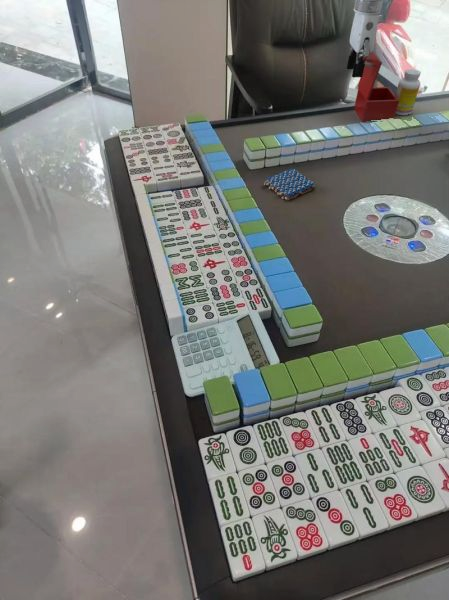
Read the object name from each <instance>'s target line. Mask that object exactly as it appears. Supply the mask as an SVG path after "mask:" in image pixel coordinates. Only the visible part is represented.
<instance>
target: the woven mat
mask: <svg viewBox="0 0 449 600" xmlns="http://www.w3.org/2000/svg"><path fill="white" fill-rule="evenodd" d="M316 185H317V184H316V183H315V182H314V181H313V180H310V178H309V177H308V178H307V177H306V176H305V175H303V174H302V173H300V172H299V171H298V170H296V169H294V168H288V169H286V170H283V171H281V172H279V173H277V174H276V173H275V174H274V175H270V176H269V177H265V179H264V183H263V186H268V190H273V191H274V192H275V193H276V194H277V195H278V196H281V199H282V200H285V201H290V200H292V199H295V198H296V197H298V196H299V195H300V196H301V195H304V194H306V193H308V192H311V191H312V190H314V189H316Z"/></svg>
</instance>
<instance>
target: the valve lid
mask: <svg viewBox="0 0 449 600" xmlns="http://www.w3.org/2000/svg"><path fill="white" fill-rule="evenodd" d="M360 56H361V55H360ZM360 56H359V58H360ZM382 64H383V62H382V61H381V59H380V58H379V56H378V55H377V54H376V53H375V51H374V50H373V51H372V53H369V56H368V58H367V59H366V63H365V67H364V71H363V76H362V77H359V80H358V83H357V89H358V88H359V89H360V91H361V93H362V94H363V96H364V97H365V99H366V100H369V97H370V94H371V92H372V89H373V88H374V87H375V83H376V81H377V78H378V75H379V72H380V70H381V67H382Z"/></svg>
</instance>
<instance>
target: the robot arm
mask: <svg viewBox="0 0 449 600" xmlns="http://www.w3.org/2000/svg"><path fill="white" fill-rule="evenodd" d="M383 3H384V0H354V6H353V11H354V17H353V20H352V25H351V30H350V35H349V44H350V48H349V54H348V58H347V64H346V69H347V70H352V73H351V77H352V78H361V77H362V76H363V71H364V67H365V63H366V59H367V58H368V56H369V53H372V51H374V48H375V42H376V38H377V37H376V36H377V33H378V32H377V31H378V27H379V26H378V25H379V15H380V13H381V12H382V7H383ZM359 56H360V58H359Z"/></svg>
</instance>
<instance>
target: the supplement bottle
mask: <svg viewBox="0 0 449 600" xmlns="http://www.w3.org/2000/svg"><path fill="white" fill-rule="evenodd" d="M421 73H422V72H421V71H420V70H418V69H415V68H408V69H405V71H404V76H403V77H401V78H400V80H399V81H398V85H397V88H396V92H395V96H396V97H397V99H398V100H399V103H398V106H397V110H396V113H395V115H397V116H408V114H409V115H410V114H412V112H413V110H414V105H415V102H416V99H417V97H418V93H419V90H420V87H421V82H420V80H419V78H420V76H421Z"/></svg>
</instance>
